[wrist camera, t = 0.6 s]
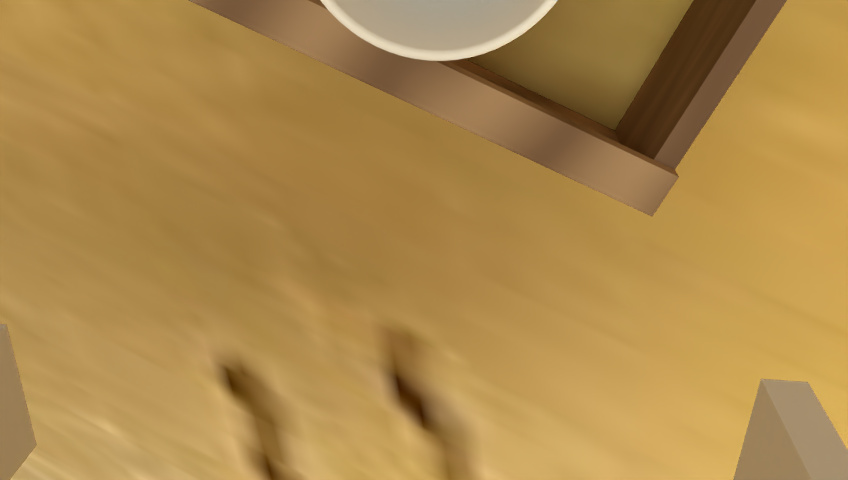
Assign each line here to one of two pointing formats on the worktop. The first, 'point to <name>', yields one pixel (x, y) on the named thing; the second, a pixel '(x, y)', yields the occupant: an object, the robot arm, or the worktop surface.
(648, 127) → the crate
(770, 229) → the worktop surface
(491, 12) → the cup
